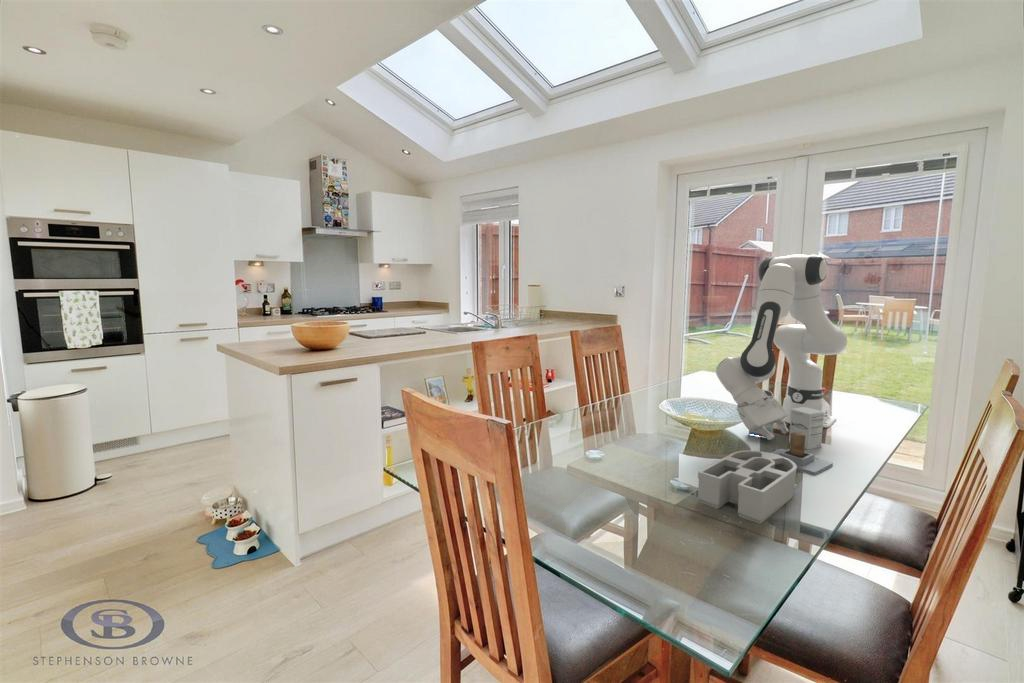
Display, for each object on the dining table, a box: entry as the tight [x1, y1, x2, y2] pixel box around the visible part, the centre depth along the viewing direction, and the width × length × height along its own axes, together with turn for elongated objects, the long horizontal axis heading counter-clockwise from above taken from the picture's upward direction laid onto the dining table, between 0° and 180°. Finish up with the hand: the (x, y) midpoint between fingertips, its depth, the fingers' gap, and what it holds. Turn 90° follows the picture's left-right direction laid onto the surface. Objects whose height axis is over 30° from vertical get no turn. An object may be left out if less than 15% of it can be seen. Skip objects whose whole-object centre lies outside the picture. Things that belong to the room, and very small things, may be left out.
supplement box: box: [788, 407, 824, 450], centre depth 170 cm, size 7×7×13 cm
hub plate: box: [770, 448, 833, 477], centre depth 155 cm, size 12×16×3 cm
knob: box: [789, 432, 806, 458], centre depth 155 cm, size 4×4×8 cm
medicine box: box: [748, 423, 775, 437], centre depth 180 cm, size 8×4×9 cm, turn 62°
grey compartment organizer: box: [697, 449, 797, 525], centre depth 132 cm, size 17×28×9 cm, turn 131°
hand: (779, 435), depth 159 cm, fingers open, 8 cm apart
